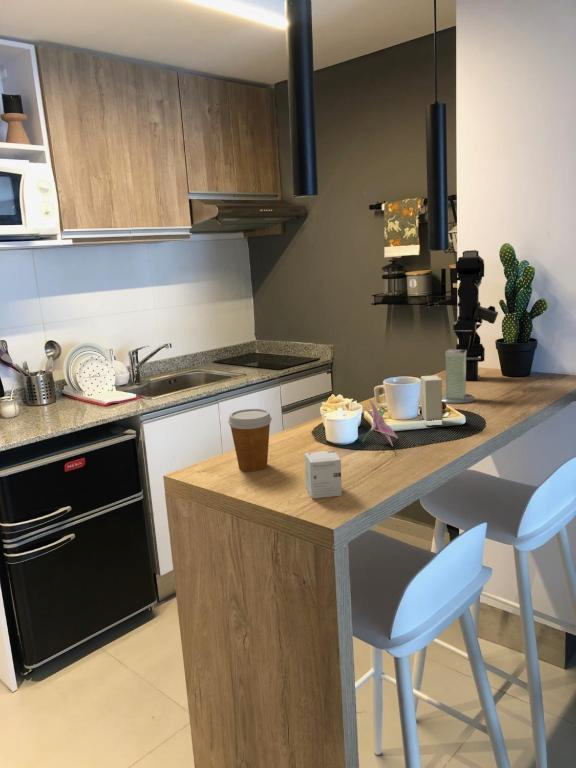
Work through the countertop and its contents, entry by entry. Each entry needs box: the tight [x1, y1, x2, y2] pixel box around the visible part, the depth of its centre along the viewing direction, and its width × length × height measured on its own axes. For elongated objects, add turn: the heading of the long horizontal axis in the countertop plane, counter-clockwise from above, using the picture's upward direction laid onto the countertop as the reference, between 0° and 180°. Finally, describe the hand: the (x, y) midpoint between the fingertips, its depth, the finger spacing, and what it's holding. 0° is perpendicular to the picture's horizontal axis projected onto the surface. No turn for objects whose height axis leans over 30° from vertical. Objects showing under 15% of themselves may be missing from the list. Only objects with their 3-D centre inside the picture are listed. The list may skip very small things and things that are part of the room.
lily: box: [361, 398, 398, 447], centre depth 147 cm, size 12×12×10 cm
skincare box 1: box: [303, 450, 343, 499], centre depth 119 cm, size 6×6×7 cm
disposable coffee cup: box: [227, 408, 273, 472], centre depth 135 cm, size 10×10×12 cm
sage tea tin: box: [444, 349, 467, 400], centre depth 181 cm, size 5×5×14 cm
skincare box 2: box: [420, 374, 444, 421], centre depth 160 cm, size 6×4×12 cm
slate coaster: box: [442, 393, 476, 405], centre depth 183 cm, size 11×11×1 cm
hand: (468, 350), depth 190 cm, fingers open, 9 cm apart
